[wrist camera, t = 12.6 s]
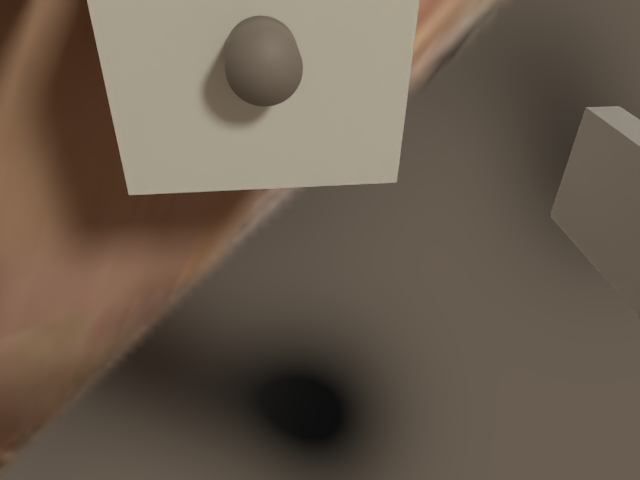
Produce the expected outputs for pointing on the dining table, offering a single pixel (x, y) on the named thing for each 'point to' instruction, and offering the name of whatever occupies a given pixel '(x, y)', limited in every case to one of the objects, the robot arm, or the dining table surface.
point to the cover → (255, 91)
